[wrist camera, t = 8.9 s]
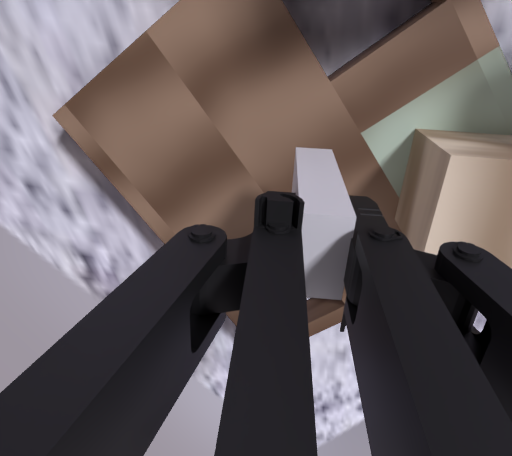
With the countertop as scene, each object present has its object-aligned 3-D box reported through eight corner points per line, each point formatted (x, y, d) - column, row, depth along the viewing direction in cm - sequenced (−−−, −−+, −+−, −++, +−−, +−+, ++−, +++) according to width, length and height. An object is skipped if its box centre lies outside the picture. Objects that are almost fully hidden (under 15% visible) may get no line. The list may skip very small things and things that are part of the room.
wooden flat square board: (75, 108, 23) (52, 115, 21) (383, -165, 17) (396, -196, 14) (266, 333, 29) (264, 357, 27) (544, 197, 23) (571, 215, 21)
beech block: (394, 218, 22) (420, 265, 17) (415, 128, 19) (451, 155, 15) (486, 226, 21) (537, 276, 17) (518, 135, 19) (586, 165, 15)
